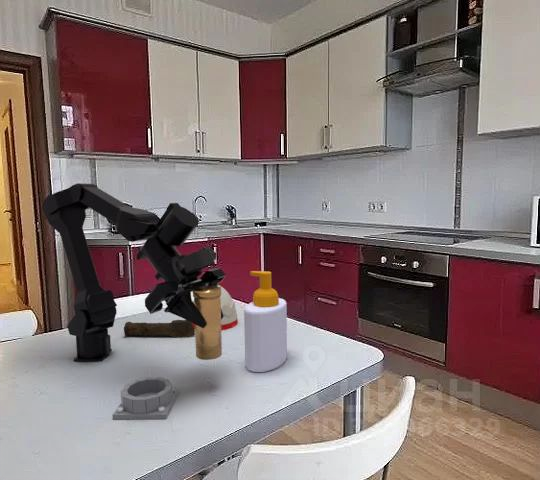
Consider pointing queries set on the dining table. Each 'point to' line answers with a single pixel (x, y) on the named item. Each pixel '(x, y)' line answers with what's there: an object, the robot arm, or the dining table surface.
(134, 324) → the hand tool
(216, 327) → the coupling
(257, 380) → the dining table surface
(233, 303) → the kitchen timer
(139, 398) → the socket
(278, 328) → the soap bottle
